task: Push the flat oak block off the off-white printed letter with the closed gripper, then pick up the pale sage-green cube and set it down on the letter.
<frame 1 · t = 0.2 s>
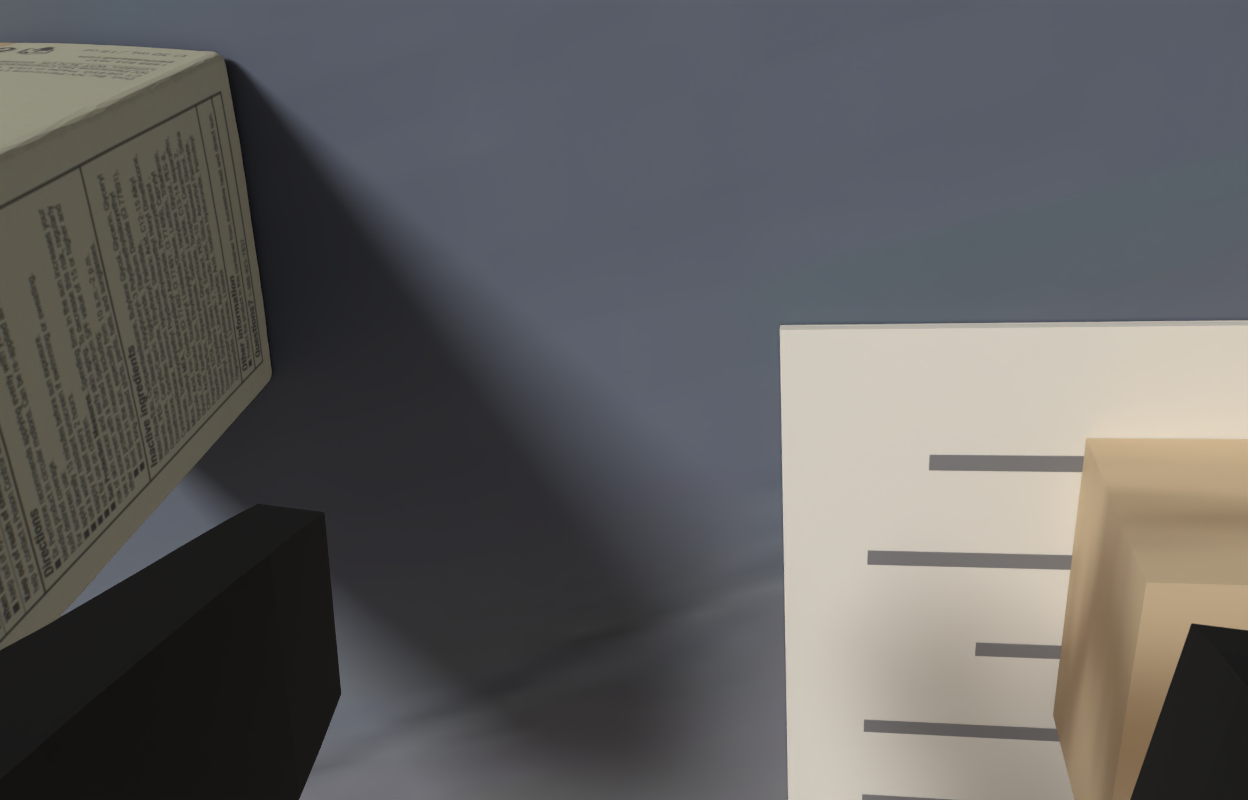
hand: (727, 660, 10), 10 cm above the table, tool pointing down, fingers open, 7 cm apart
skincare box: (154, 223, 20), on the table
letter: (1237, 629, 20), on the table
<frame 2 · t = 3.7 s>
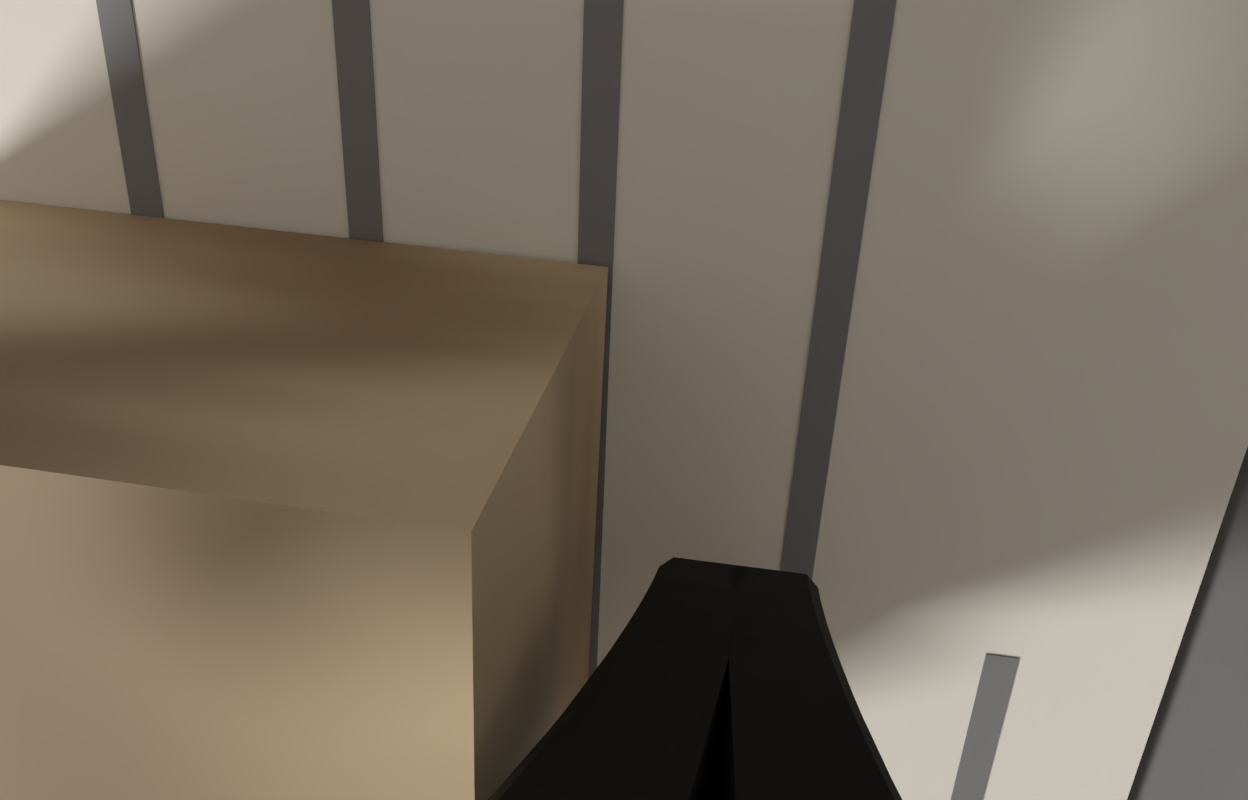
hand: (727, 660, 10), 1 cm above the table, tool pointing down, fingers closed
letter: (539, 540, 11), on the table
oak block: (295, 519, 11), resting on letter, touching gripper
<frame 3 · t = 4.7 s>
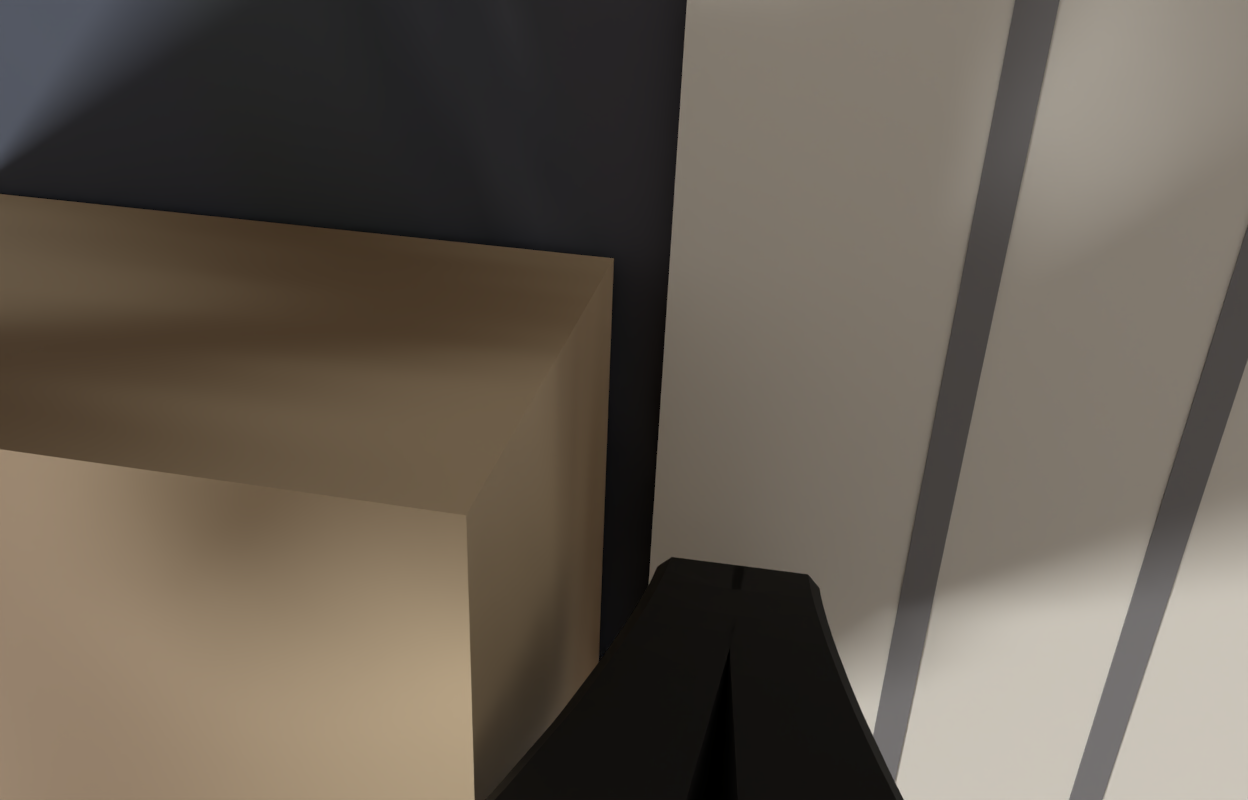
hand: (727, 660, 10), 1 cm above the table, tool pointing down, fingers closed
oak block: (308, 511, 11), on the table, touching gripper
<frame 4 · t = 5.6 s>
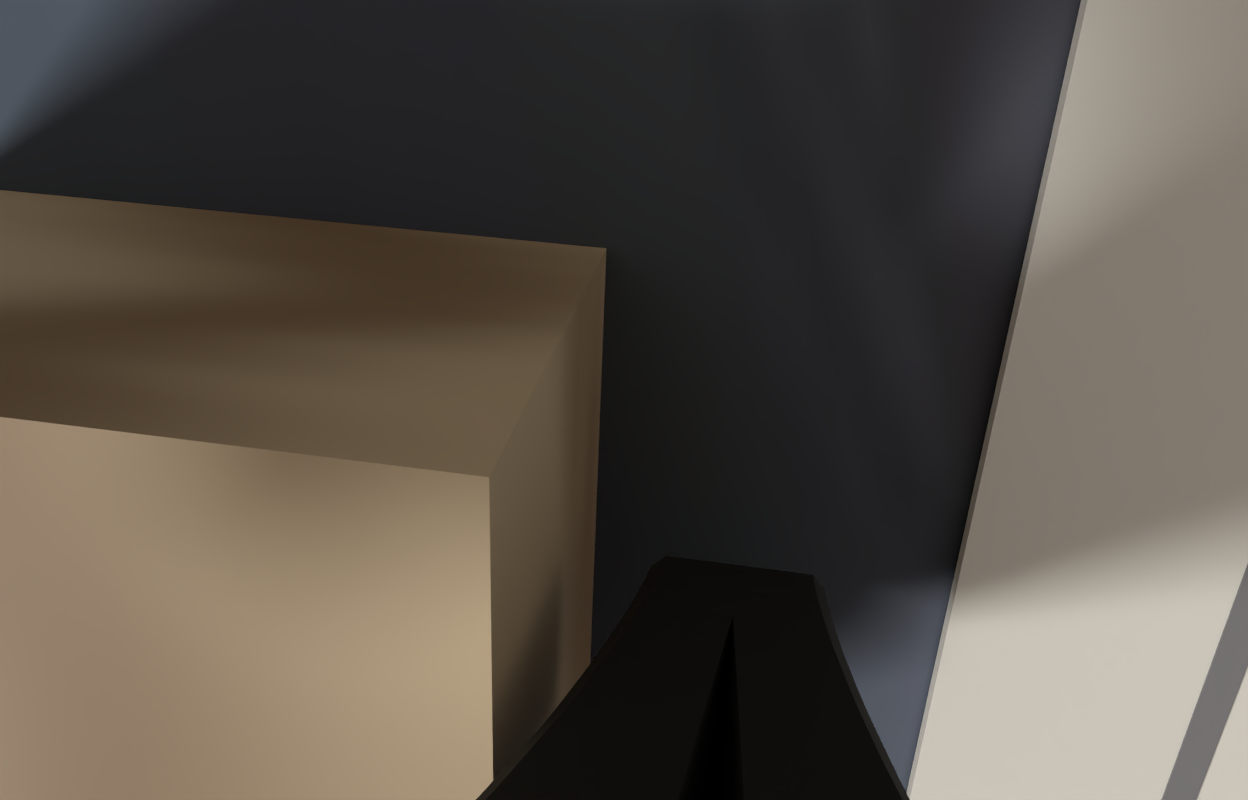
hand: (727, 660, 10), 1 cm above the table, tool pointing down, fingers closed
oak block: (309, 492, 12), on the table
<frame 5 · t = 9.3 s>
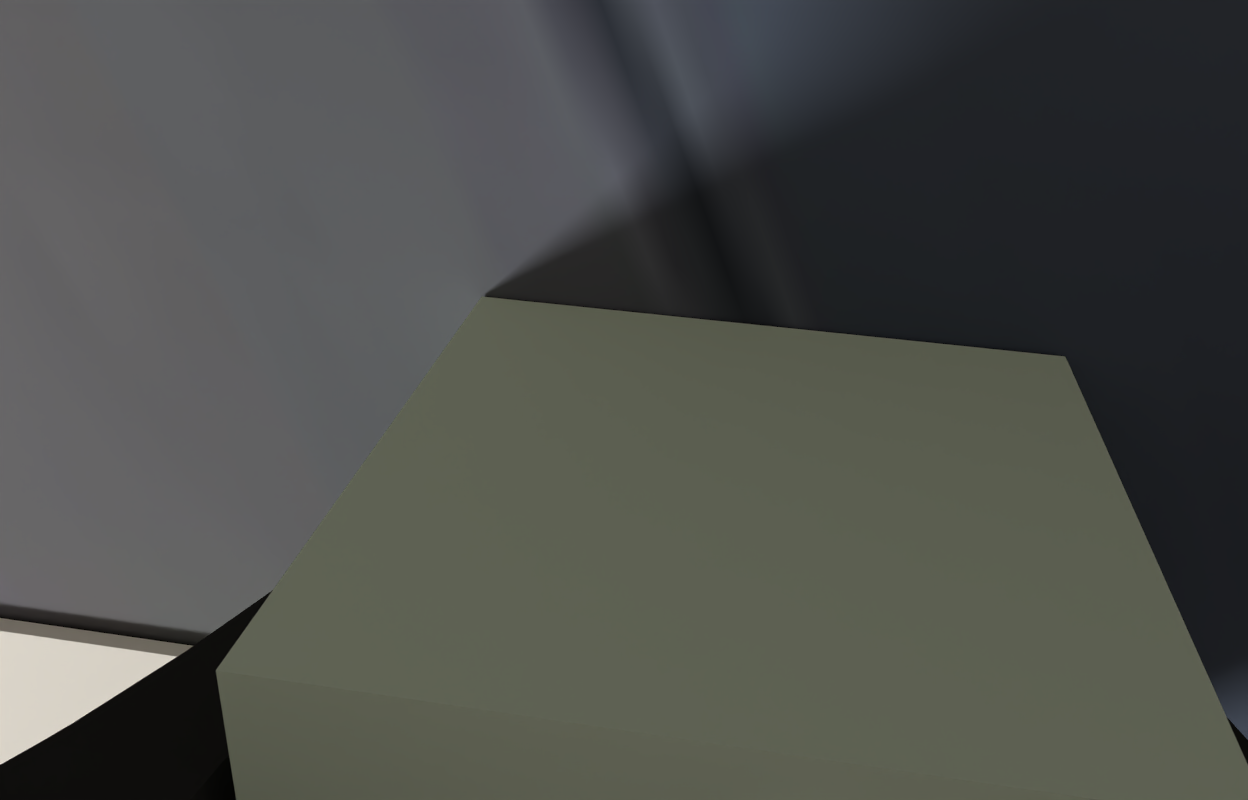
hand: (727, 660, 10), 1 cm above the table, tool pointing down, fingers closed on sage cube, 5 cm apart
sage cube: (738, 563, 11), on the table, touching gripper
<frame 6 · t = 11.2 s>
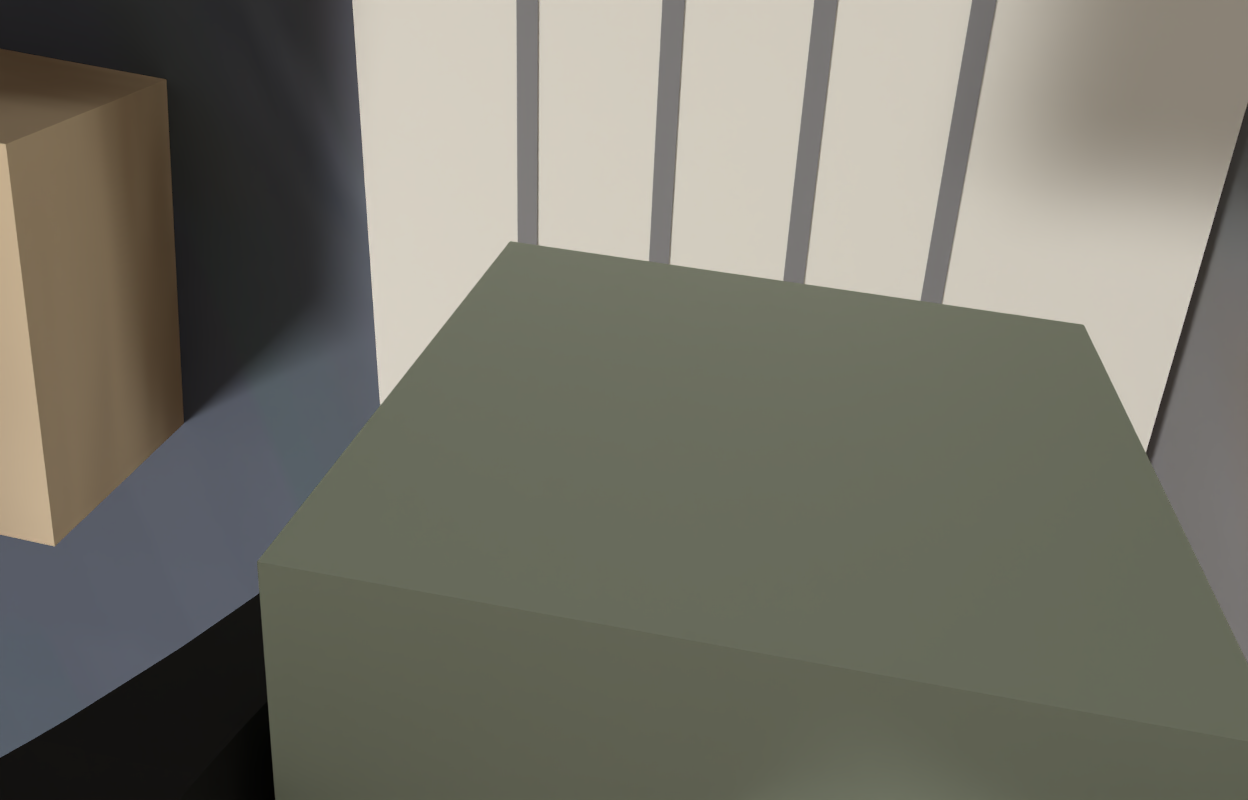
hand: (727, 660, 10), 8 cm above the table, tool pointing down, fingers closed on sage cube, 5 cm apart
sage cube: (748, 520, 11), point 7 cm above the table, touching gripper
letter: (756, 306, 17), on the table
oak block: (9, 226, 19), on the table
when the fingers open (3 cm above the table, at t = 12.9 s): sage cube stays where it is, resting on letter.
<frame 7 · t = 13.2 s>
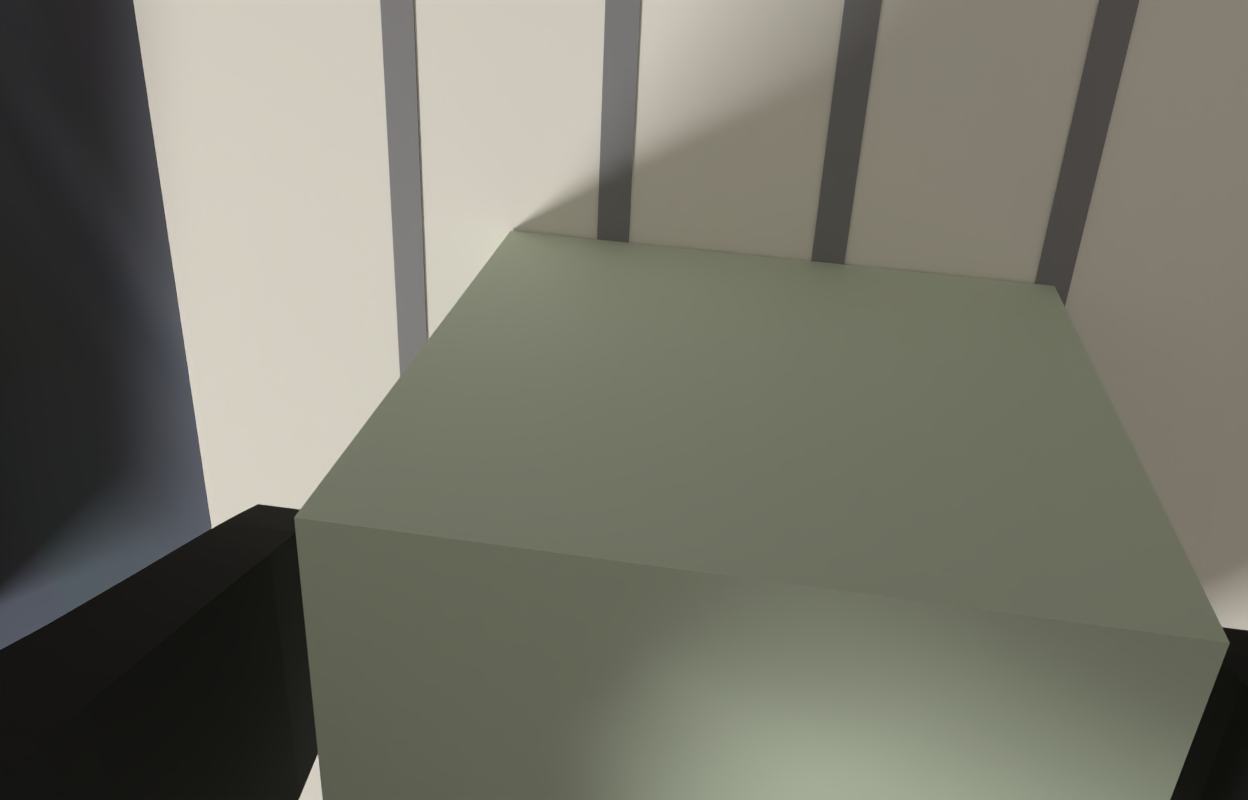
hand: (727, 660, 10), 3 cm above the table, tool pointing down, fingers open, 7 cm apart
sage cube: (747, 487, 12), resting on letter
letter: (746, 498, 12), on the table
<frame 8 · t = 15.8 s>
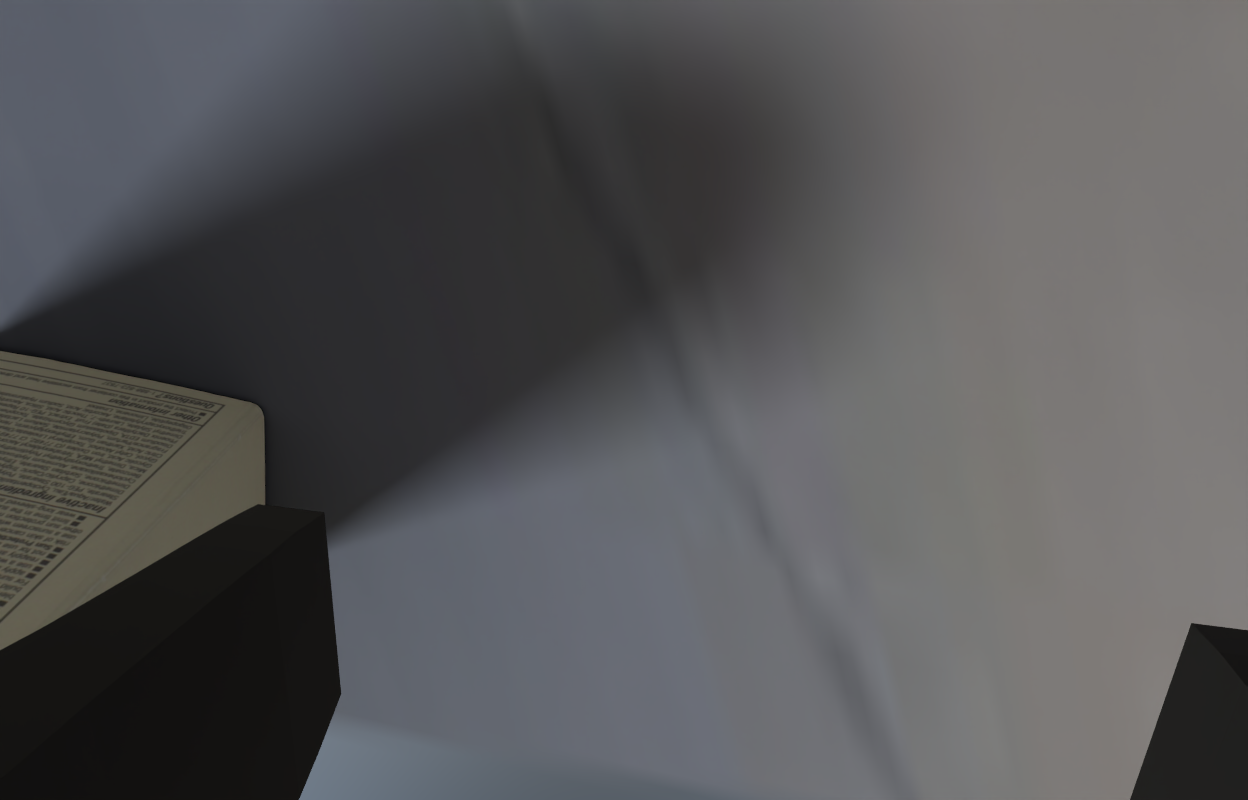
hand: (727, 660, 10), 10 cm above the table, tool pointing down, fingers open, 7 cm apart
skincare box: (138, 453, 23), on the table
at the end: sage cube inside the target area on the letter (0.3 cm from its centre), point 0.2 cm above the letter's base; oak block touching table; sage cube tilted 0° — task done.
